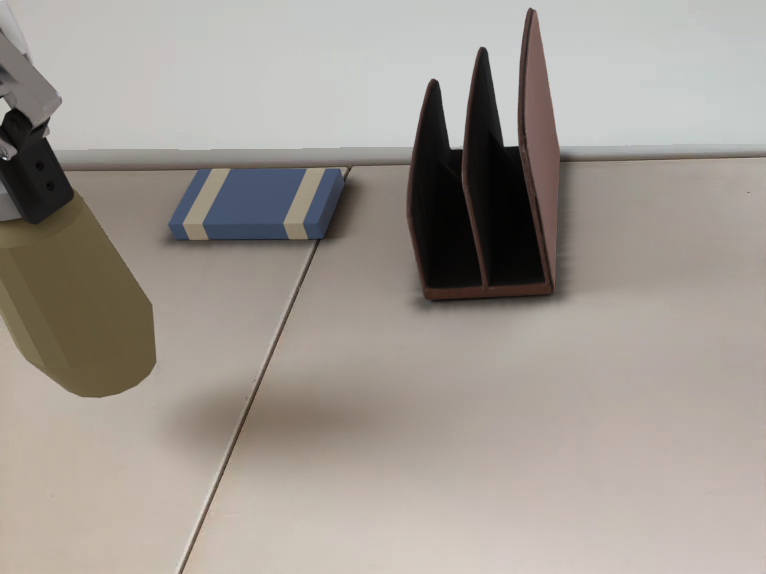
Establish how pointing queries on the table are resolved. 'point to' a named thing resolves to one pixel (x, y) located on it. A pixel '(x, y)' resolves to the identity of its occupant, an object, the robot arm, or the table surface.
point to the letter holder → (487, 188)
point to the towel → (258, 204)
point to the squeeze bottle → (73, 301)
